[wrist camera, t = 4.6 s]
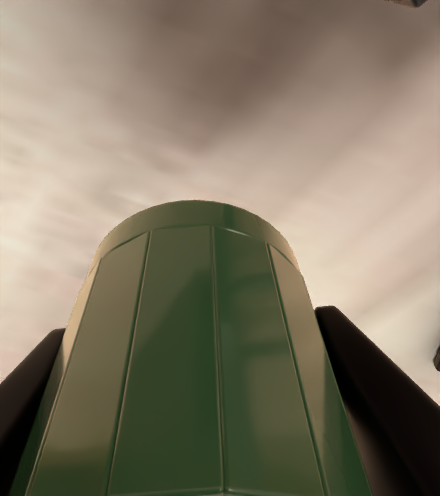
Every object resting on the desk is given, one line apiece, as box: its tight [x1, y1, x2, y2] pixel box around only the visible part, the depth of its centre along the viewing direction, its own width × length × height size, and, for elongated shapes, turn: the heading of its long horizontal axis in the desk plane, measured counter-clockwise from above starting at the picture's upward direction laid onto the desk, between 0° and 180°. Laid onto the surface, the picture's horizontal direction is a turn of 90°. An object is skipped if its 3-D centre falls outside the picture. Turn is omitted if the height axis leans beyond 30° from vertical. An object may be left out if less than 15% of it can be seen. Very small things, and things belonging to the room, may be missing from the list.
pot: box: [8, 200, 373, 496], centre depth 7 cm, size 5×5×6 cm
